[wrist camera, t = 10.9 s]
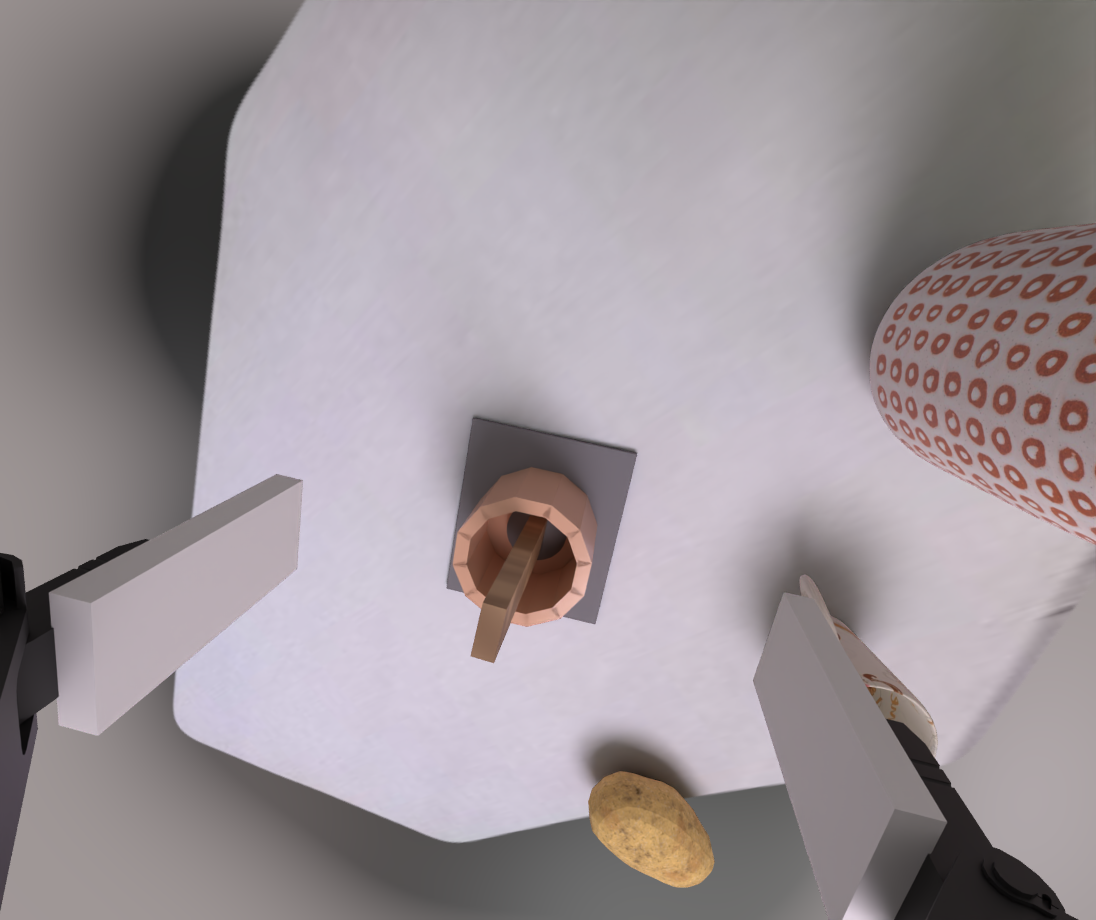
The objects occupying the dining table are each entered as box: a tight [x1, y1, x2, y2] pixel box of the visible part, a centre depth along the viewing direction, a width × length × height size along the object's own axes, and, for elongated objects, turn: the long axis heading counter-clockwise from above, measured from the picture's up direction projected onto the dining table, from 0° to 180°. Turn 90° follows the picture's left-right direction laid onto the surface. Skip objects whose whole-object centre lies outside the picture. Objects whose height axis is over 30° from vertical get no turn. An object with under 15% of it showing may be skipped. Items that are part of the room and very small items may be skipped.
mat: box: [447, 418, 637, 624], centre depth 44 cm, size 14×12×1 cm
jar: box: [453, 467, 597, 627], centre depth 41 cm, size 9×9×6 cm
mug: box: [799, 575, 938, 758], centre depth 39 cm, size 8×13×10 cm, turn 21°
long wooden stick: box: [471, 511, 567, 663], centre depth 36 cm, size 4×4×15 cm
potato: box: [588, 771, 714, 887], centre depth 47 cm, size 7×11×6 cm, turn 49°
